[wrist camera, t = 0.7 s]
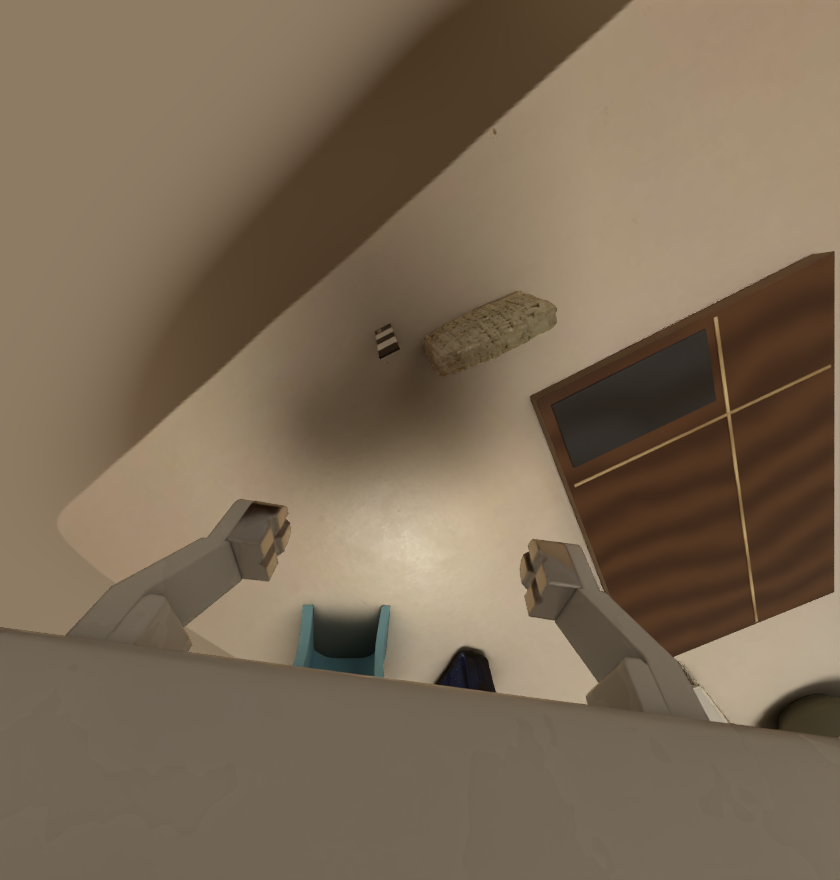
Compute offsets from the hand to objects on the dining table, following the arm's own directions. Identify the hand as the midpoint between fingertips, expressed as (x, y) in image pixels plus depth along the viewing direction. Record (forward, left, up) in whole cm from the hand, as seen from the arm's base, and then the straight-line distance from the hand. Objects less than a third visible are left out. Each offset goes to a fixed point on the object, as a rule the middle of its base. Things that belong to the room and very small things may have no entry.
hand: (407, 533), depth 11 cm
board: (+27, +24, -19) cm, 40 cm away
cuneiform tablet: (-3, +7, -19) cm, 21 cm away
